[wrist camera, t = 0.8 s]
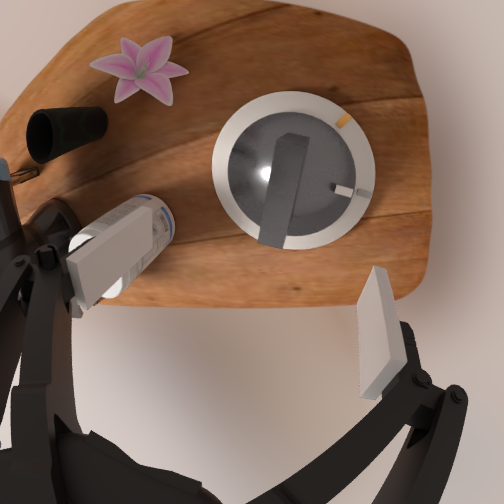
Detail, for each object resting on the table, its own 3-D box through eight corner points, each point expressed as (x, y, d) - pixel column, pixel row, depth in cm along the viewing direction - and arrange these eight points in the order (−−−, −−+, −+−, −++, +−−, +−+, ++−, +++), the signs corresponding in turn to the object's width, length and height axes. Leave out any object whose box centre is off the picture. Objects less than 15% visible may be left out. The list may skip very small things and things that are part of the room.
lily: (190, 119, 35) (185, 92, 26) (109, 129, 33) (83, 109, 24) (191, 49, 33) (188, 12, 24) (115, 59, 31) (96, 28, 22)
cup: (114, 142, 38) (58, 160, 28) (83, 148, 40) (30, 167, 29) (110, 95, 34) (51, 102, 24) (79, 106, 36) (23, 117, 26)
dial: (223, 217, 37) (195, 248, 29) (239, 102, 30) (210, 100, 22) (335, 245, 35) (337, 286, 28) (368, 130, 28) (385, 137, 20)
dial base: (210, 223, 41) (204, 229, 39) (228, 81, 30) (222, 80, 29) (347, 258, 38) (348, 266, 36) (389, 116, 28) (393, 116, 26)
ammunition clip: (17, 178, 47) (-20, 197, 37) (16, 171, 46) (-22, 189, 36) (39, 175, 45) (-4, 196, 35) (37, 167, 44) (-6, 186, 34)
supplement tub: (122, 226, 45) (64, 270, 33) (137, 180, 40) (69, 217, 28) (166, 257, 46) (116, 312, 33) (187, 213, 41) (130, 263, 28)
